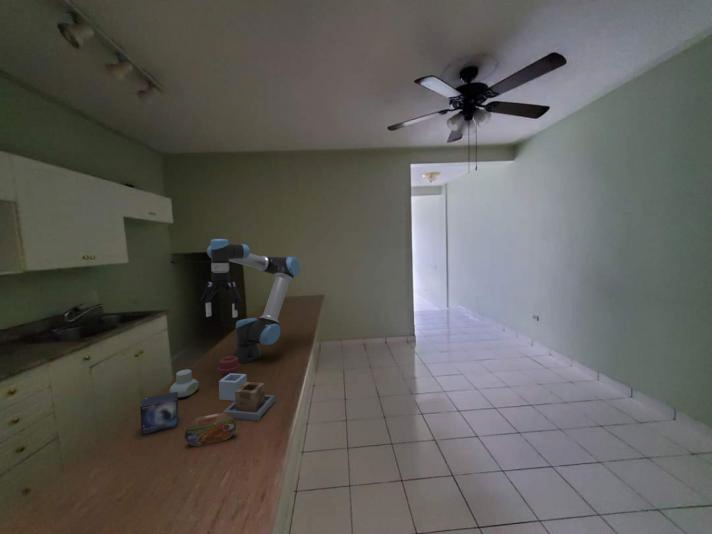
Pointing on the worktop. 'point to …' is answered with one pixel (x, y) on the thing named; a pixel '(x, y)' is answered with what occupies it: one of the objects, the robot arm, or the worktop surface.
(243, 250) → the robot arm
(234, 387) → the block
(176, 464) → the worktop surface
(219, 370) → the mechanical component
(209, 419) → the tin
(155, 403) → the small box
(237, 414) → the tray
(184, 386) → the air freshener
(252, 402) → the brown open cube box
